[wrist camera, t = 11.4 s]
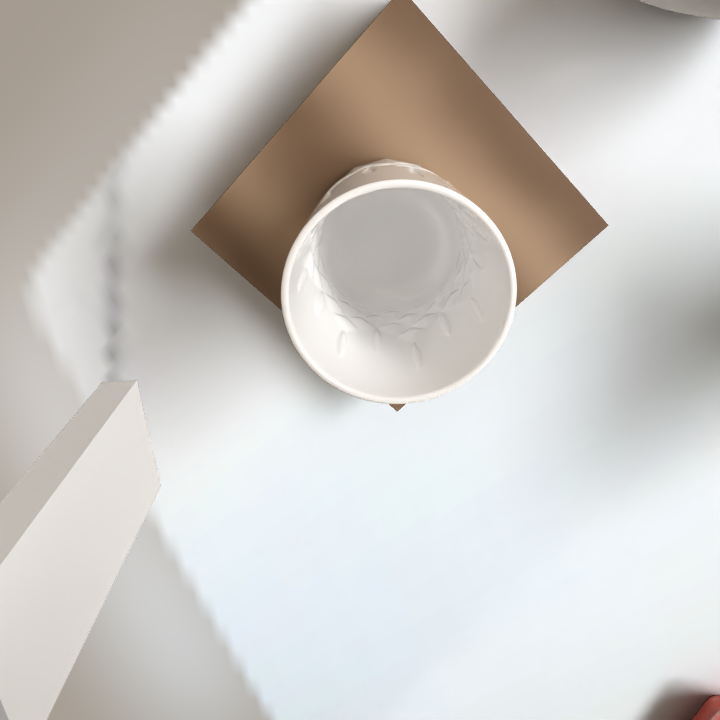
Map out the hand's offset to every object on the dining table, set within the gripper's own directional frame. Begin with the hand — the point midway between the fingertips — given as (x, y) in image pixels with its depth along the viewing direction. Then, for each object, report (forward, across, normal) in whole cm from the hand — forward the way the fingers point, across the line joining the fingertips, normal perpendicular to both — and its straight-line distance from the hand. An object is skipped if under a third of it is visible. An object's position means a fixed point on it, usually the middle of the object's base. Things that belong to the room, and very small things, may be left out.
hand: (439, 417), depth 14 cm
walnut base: (+22, 0, 0) cm, 22 cm away
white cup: (+18, 0, 0) cm, 18 cm away
